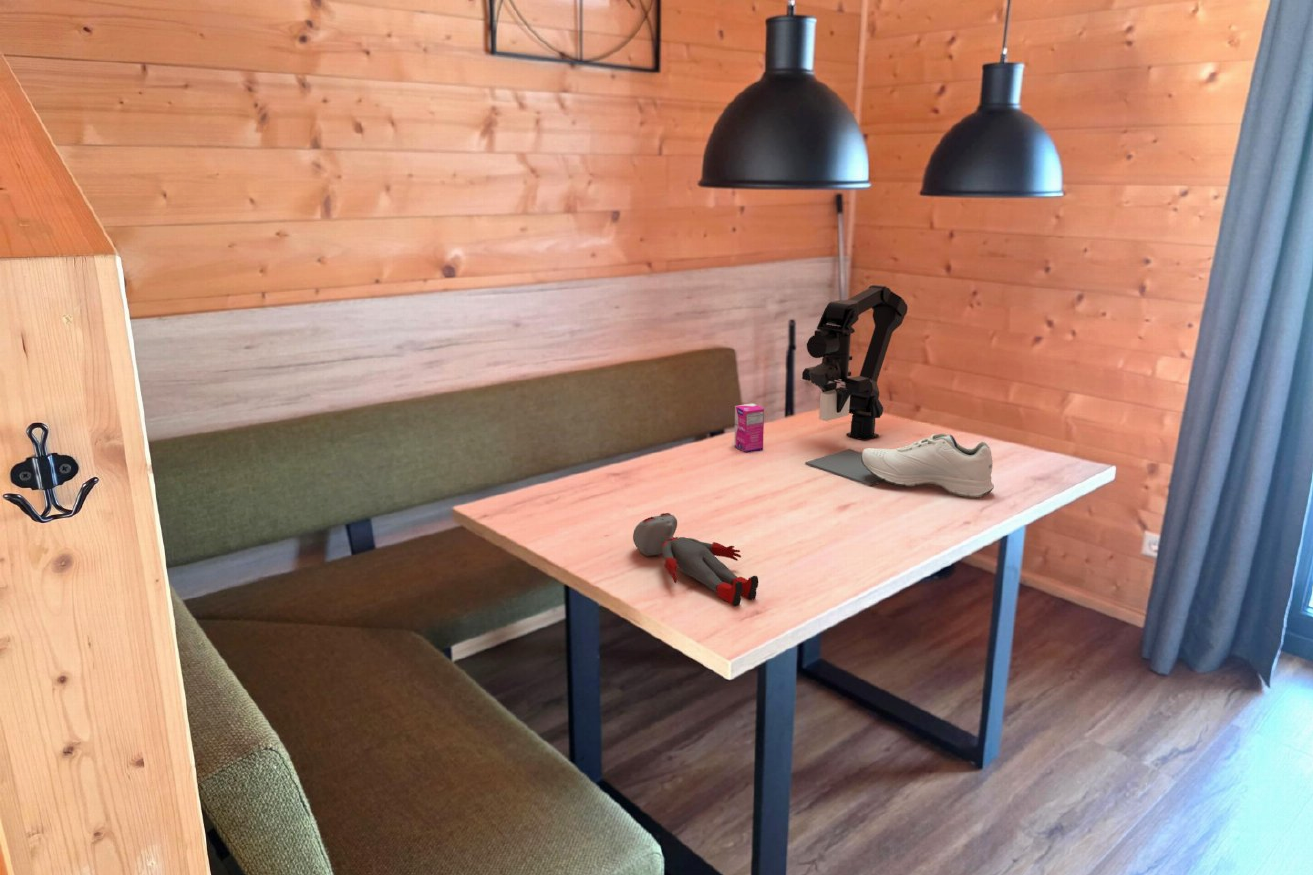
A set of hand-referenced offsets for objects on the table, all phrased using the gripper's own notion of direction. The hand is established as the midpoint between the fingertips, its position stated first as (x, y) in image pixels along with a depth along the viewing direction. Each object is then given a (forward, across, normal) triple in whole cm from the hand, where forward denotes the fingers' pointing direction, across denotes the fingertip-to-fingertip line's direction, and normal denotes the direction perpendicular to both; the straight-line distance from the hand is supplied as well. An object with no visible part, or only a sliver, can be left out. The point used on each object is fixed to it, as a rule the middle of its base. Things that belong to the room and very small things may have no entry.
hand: (834, 411), depth 238 cm
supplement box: (+11, -14, -17) cm, 24 cm away
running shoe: (+10, +32, -5) cm, 34 cm away
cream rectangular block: (+2, 0, 0) cm, 2 cm away
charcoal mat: (+10, +14, -6) cm, 18 cm away
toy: (+11, +32, -78) cm, 85 cm away
